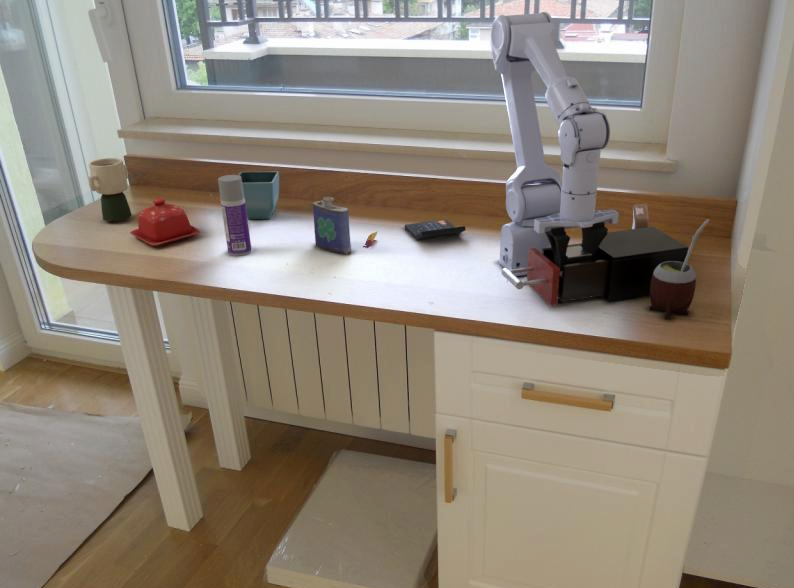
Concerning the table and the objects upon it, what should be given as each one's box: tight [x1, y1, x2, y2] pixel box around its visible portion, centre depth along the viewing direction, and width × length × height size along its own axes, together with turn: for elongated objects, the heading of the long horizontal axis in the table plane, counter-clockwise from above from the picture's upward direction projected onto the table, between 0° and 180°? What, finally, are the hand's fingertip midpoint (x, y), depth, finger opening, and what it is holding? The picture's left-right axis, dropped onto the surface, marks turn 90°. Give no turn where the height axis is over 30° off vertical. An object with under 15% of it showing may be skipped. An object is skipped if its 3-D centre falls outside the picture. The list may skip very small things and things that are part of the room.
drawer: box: [501, 242, 612, 307], centre depth 138 cm, size 19×10×7 cm, turn 107°
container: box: [217, 174, 253, 257], centre depth 158 cm, size 5×5×15 cm
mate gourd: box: [649, 218, 711, 320], centre depth 130 cm, size 8×8×15 cm
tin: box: [631, 203, 650, 229], centre depth 155 cm, size 15×3×8 cm, turn 168°
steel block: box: [559, 246, 592, 277], centre depth 138 cm, size 4×4×4 cm
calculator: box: [404, 219, 466, 241], centre depth 168 cm, size 9×12×3 cm
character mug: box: [87, 157, 133, 223], centre depth 178 cm, size 11×7×13 cm, turn 154°
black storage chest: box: [581, 226, 689, 303], centre depth 141 cm, size 14×11×8 cm
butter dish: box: [129, 197, 201, 246], centre depth 168 cm, size 12×12×8 cm
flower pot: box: [238, 170, 280, 220], centre depth 179 cm, size 9×9×9 cm
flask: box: [312, 196, 352, 255], centre depth 159 cm, size 9×3×11 cm, turn 50°
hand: (572, 267), depth 138 cm, fingers closed on steel block, 4 cm apart
